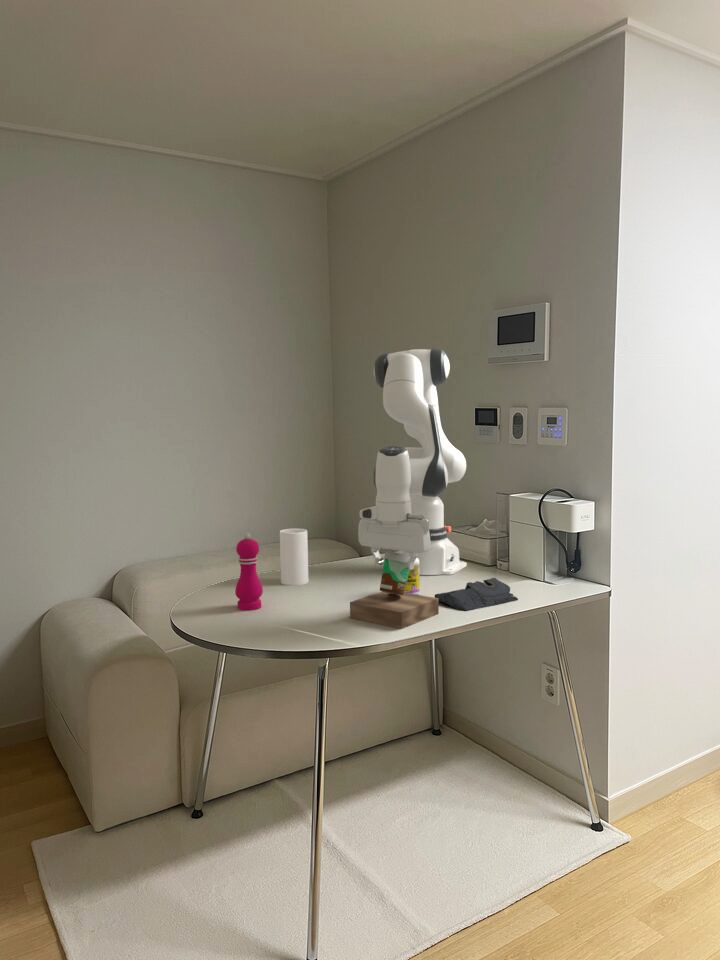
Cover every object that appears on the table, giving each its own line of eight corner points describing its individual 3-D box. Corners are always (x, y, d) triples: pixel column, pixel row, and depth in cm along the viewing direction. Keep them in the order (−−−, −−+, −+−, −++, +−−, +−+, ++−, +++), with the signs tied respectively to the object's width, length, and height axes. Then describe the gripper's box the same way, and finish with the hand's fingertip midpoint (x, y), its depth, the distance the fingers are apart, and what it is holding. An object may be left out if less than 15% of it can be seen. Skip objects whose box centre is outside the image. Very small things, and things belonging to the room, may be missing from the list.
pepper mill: (232, 610, 202) (229, 535, 200) (240, 603, 209) (238, 530, 207) (259, 611, 201) (256, 535, 199) (266, 604, 208) (264, 531, 206)
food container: (401, 594, 190) (409, 554, 191) (378, 589, 191) (385, 550, 193) (411, 597, 201) (418, 559, 203) (389, 593, 203) (396, 555, 205)
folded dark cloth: (425, 602, 210) (425, 585, 209) (484, 590, 222) (484, 573, 222) (464, 614, 197) (464, 596, 197) (524, 600, 210) (524, 583, 209)
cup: (309, 580, 236) (308, 528, 234) (307, 586, 228) (306, 532, 226) (282, 580, 236) (281, 528, 234) (279, 586, 228) (278, 533, 226)
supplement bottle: (395, 596, 214) (395, 551, 213) (396, 591, 220) (395, 546, 219) (419, 597, 213) (419, 551, 212) (419, 591, 220) (419, 546, 219)
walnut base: (388, 604, 206) (387, 589, 206) (438, 613, 196) (438, 598, 196) (350, 617, 194) (349, 602, 194) (402, 628, 184) (401, 612, 184)
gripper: (435, 514, 188) (435, 569, 190) (369, 507, 201) (370, 559, 203) (421, 517, 184) (421, 574, 185) (354, 510, 196) (355, 564, 198)
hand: (394, 566), depth 194 cm, fingers open, 8 cm apart
